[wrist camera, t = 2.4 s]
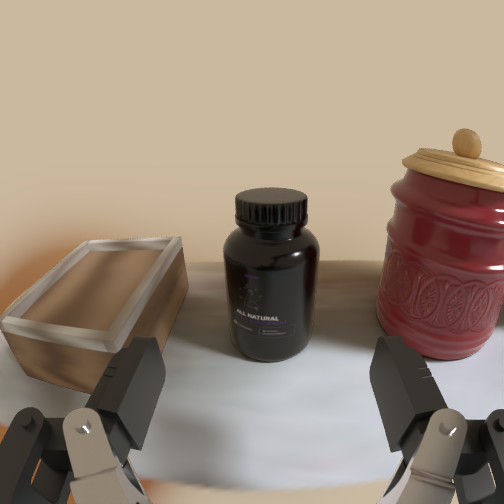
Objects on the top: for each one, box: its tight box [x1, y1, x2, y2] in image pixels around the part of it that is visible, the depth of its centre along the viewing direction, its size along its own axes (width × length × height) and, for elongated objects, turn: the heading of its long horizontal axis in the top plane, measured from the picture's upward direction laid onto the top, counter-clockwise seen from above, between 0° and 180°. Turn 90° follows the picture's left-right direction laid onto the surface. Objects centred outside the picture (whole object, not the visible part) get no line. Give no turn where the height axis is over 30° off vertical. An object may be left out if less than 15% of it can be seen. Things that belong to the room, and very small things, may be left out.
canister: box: [376, 129, 504, 360], centre depth 21 cm, size 13×13×18 cm
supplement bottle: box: [223, 188, 320, 362], centre depth 22 cm, size 7×7×12 cm
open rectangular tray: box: [0, 237, 189, 394], centre depth 24 cm, size 12×16×6 cm
